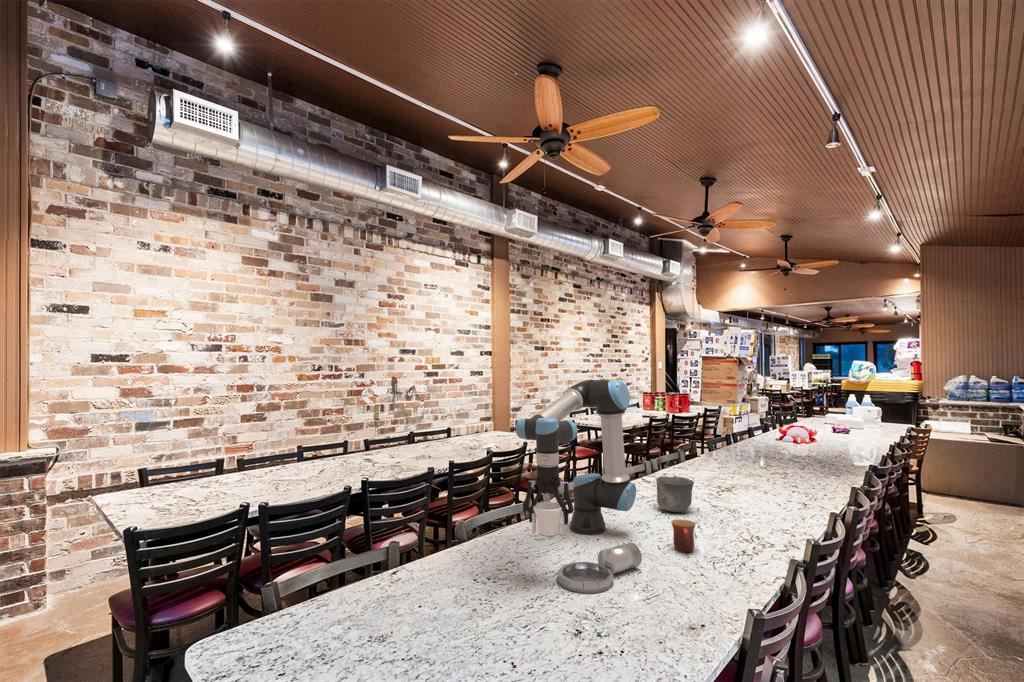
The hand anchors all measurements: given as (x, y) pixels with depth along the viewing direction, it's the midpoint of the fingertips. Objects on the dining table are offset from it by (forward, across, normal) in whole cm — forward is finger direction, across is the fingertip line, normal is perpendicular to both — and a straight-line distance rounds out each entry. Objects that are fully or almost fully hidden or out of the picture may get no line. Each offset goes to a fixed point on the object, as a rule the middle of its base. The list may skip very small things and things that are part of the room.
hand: (548, 533), depth 166 cm
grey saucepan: (+15, +16, +6) cm, 23 cm away
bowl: (+16, +46, +88) cm, 101 cm away
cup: (+1, 0, 0) cm, 1 cm away
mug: (+16, +45, +35) cm, 60 cm away
